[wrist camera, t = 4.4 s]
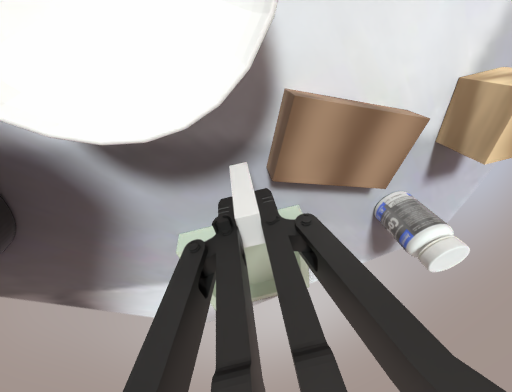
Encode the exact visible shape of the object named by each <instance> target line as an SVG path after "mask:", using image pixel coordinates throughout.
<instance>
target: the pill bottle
mask: <svg viewBox="0 0 512 392" xmlns="http://www.w3.org/2000/svg"><path fill="white" fill-rule="evenodd" d="M375 217H376V218H377V219H378V220H379V222H380V223H381V224H382V225H383V226H384V227H385V228H386V229H387V230H388V232H389V233H390V234H391V235H392V236H393V237H394V238H395V239H396V240H397V241H398V243H399V244H400V245H401V246H402V247H403V248H404V249H405V251H406V252H407V253H408V254H410V255H411V256H414V257H418V259H419V260H420V262H421V263H422V264H423V265H424V266H425V267H426V268H427V269H428V270H429V271H431V272H439V271H443V270H446V269H449V268H451V267H453V266H455V265H457V264H458V263H459V262H461V261H462V260H464V259H465V258H466V257H467V255H468V254H469V252H470V248H469V247H468V246H467V245H466V244H465V243H463V242H462V241H461V240H460V239H458V238H457V237H456V236H453V233H454V232H453V229H452V228H451V227H450V226H449V225H448V224H447V223H445V222H444V221H443V220H442V219H440V218H439V217H438V216H437V215H435V214H434V213H433V212H432V211H430V210H429V209H428V208H427V207H425V206H424V205H423V204H422V203H420V202H419V201H418V200H417V199H416V198H414V197H413V196H412V195H410V194H409V193H407V192H404V191H398V192H394V193H392V194H390V195H388V196H386V197H384V198H383V199H382V200H381V201H380V202H379V203H378V204H377V206H376V208H375Z"/></svg>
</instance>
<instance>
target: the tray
mask: <svg viewBox="0 0 512 392" xmlns="http://www.w3.org/2000/svg"><path fill="white" fill-rule="evenodd" d="M278 213H279V215H280V216H281V217H283V218H285V219H296V218H297V216H299V215H301V214H303V213H302V211H301V209H300V207H299V205H295V206H291V207H287V208H283V209H279V210H278ZM215 234H216V233H215V230H214V228H213V226H211V227H207V228H203V229H199V230H194V231H190V232H186V233H182V234H179V238H178V244H177V250H176V254H177V255H178V256H179V258H180V257H181V254H182V252H183V250H184V248H185V246H186V245H187V244H188V243H189V242H191V241H193V240H196V239H200V240H203V241H204V242H205V241H207V240H209V239H210V238H212V237H213V236H214V235H215ZM243 247H244V246H243ZM244 252H245V255H246V262H247V269H248V276H249V284H250V291H251V298H252V302H253V301H257V300H261V299H265V298H269V297H273V296H277V295H278V294H277V290H276V285H275V281H274V277H273V273H272V268H271V264H270V260H269V256H268V252H267V247H266V243H263V244H259V245H255V246H250V247H246V248H244ZM294 253H295V256H296V259H297V262H298V265H299V267H300V270H301V273H302V276H303V278H304V281H305V284H306V287H307V288H308V287H309V269H308V265H307V264H306V262H305V261H304V260H303V258H302V257H301V255H300V254H299V252H298V251H294ZM210 303H211V305H212V306H213V308H214V309H215V310H216V281H215V285H214V289H213V293H212V297H211V301H210Z"/></svg>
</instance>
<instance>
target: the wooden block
mask: <svg viewBox="0 0 512 392" xmlns="http://www.w3.org/2000/svg"><path fill="white" fill-rule="evenodd" d="M436 142H437V143H439V144H441V145H444V146H446V147H448V148H450V149H452V150H454V151H456V152H459V153H461V154H463V155H465V156H467V157H469V158H471V159H474V160H476V161H478V162H480V163H482V164H484V165H485V164H489V163H493V162H497V161H501V160H505V159H509V158H512V68H509V67H501V68H497V69H493V70H489V71H484V72H480V73H476V74H472V75H468V76H464V77H460V78H459V80H458V83H457V85H456V88H455V91H454V94H453V96H452V99H451V102H450V104H449V107H448V110H447V112H446V115H445V118H444V120H443V123H442V126H441V128H440V131H439V134H438V137H437V139H436Z"/></svg>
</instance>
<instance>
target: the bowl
mask: <svg viewBox="0 0 512 392" xmlns="http://www.w3.org/2000/svg"><path fill="white" fill-rule="evenodd" d="M277 2H278V0H0V121H2V122H5V123H8V124H11V125H14V126H17V127H20V128H23V129H26V130H29V131H32V132H35V133H38V134H41V135H44V136H47V137H50V138H56V139H63V140H70V141H76V142H83V143H89V144H96V145H116V144H132V143H147V142H150V141H153V140H156V139H158V138H161V137H164V136H167V135H170V134H173V133H176V132H179V131H182V130H185V129H187V128H188V127H190V126H191V125H193V124H194V123H195V122H197V121H198V120H200V119H201V118H203V117H204V116H206V115H207V114H208V113H210V112H211V111H213V110H214V109H216V108H217V107H219V106H220V105H221V104H222V102H223V101H224V100H225V99H226V98H227V96H228V95H229V94H230V93H231V91H232V90H233V89H234V88H235V87H236V85H237V84H238V83H239V82H240V80H241V79H242V78H243V77H244V76H245V74H246V73H247V72H248V71H249V69H250V68H251V65H252V63H253V61H254V59H255V57H256V55H257V52H258V50H259V48H260V46H261V44H262V42H263V39H264V37H265V35H266V33H267V31H268V29H269V26H270V24H271V22H272V20H273V18H274V15H275V11H276V7H277Z"/></svg>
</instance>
